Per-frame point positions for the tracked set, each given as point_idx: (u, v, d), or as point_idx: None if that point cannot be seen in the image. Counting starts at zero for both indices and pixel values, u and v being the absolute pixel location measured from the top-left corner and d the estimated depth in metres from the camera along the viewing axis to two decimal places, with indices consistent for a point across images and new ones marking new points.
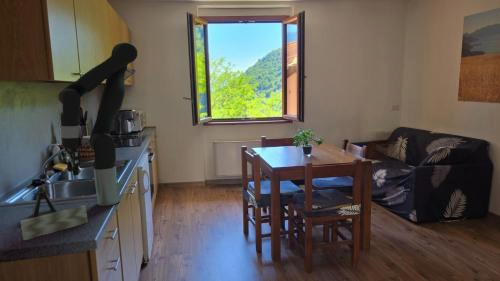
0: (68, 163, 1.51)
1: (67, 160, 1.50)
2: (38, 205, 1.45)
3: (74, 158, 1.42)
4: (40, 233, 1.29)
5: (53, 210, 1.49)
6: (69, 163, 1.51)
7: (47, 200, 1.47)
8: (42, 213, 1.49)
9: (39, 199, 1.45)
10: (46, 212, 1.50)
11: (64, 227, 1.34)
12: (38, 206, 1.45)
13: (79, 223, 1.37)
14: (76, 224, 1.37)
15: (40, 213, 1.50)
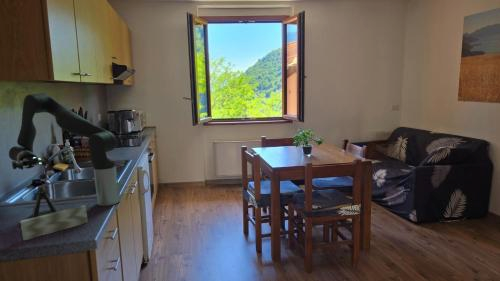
0: (42, 163, 1.60)
1: (40, 164, 1.60)
2: (38, 205, 1.45)
3: (12, 166, 1.56)
4: (40, 233, 1.29)
5: (53, 210, 1.49)
6: (42, 163, 1.59)
7: (47, 200, 1.47)
8: (42, 213, 1.49)
9: (39, 199, 1.45)
10: (46, 212, 1.50)
11: (64, 227, 1.34)
12: (38, 206, 1.45)
13: (79, 223, 1.37)
14: (76, 224, 1.37)
15: (40, 213, 1.50)
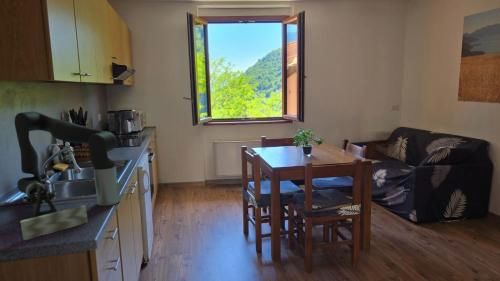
0: (45, 200, 1.50)
1: (44, 200, 1.51)
2: (39, 205, 1.45)
3: (27, 202, 1.48)
4: (40, 233, 1.29)
5: (54, 210, 1.49)
6: (44, 199, 1.49)
7: (48, 200, 1.47)
8: (42, 213, 1.49)
9: (40, 199, 1.45)
10: (46, 212, 1.50)
11: (64, 227, 1.34)
12: (39, 206, 1.45)
13: (79, 223, 1.37)
14: (76, 224, 1.37)
15: (40, 213, 1.49)
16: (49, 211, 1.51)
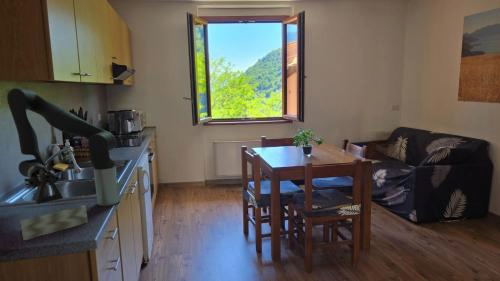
0: None
1: (47, 183, 1.38)
2: (42, 189, 1.32)
3: (29, 184, 1.35)
4: (40, 233, 1.29)
5: (58, 194, 1.36)
6: (48, 182, 1.36)
7: (52, 183, 1.34)
8: (45, 198, 1.36)
9: (43, 182, 1.32)
10: (49, 197, 1.38)
11: (64, 227, 1.34)
12: (42, 190, 1.32)
13: (79, 223, 1.37)
14: (76, 224, 1.37)
15: (43, 198, 1.36)
16: (53, 196, 1.39)
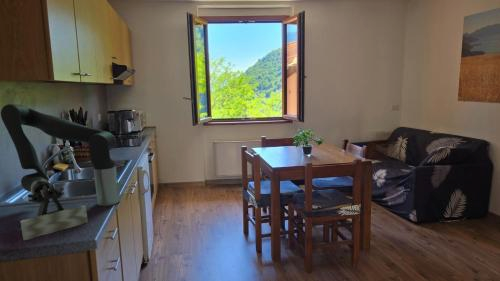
0: (52, 199, 1.36)
1: (51, 198, 1.38)
2: (46, 205, 1.32)
3: (32, 200, 1.35)
4: (40, 233, 1.29)
5: None
6: (51, 198, 1.36)
7: (55, 199, 1.34)
8: None
9: None
10: None
11: (64, 227, 1.34)
12: (46, 206, 1.32)
13: (79, 223, 1.37)
14: (76, 224, 1.37)
15: None
16: None
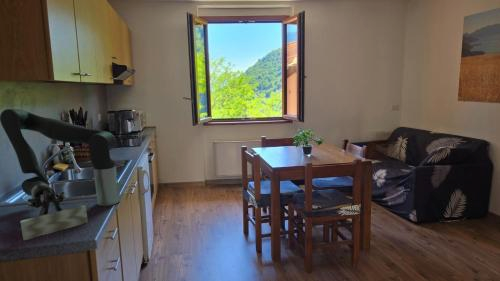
0: None
1: None
2: (46, 210, 1.32)
3: (32, 205, 1.35)
4: (40, 233, 1.29)
5: None
6: None
7: None
8: None
9: (47, 203, 1.32)
10: None
11: (64, 227, 1.34)
12: (46, 211, 1.32)
13: (79, 223, 1.37)
14: (76, 224, 1.37)
15: None
16: None
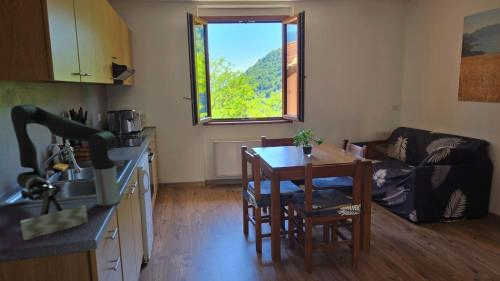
0: None
1: (50, 193, 1.50)
2: (47, 210, 1.33)
3: None
4: (40, 233, 1.29)
5: None
6: (53, 191, 1.49)
7: (57, 204, 1.35)
8: None
9: (48, 203, 1.32)
10: None
11: (64, 227, 1.34)
12: (47, 211, 1.33)
13: (79, 223, 1.37)
14: (76, 224, 1.37)
15: None
16: None
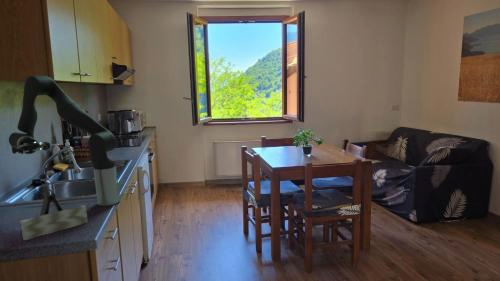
0: (43, 148, 1.53)
1: (40, 149, 1.54)
2: (47, 210, 1.33)
3: (12, 151, 1.49)
4: (40, 233, 1.29)
5: None
6: None
7: (57, 204, 1.35)
8: None
9: (48, 203, 1.32)
10: None
11: (64, 227, 1.34)
12: (47, 211, 1.33)
13: (79, 223, 1.37)
14: (76, 224, 1.37)
15: None
16: None
